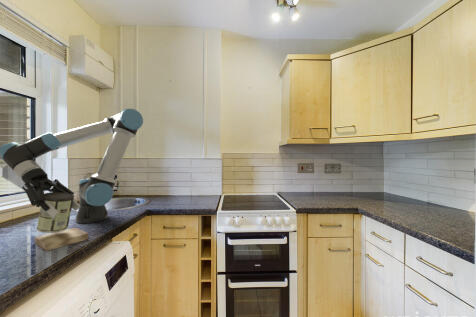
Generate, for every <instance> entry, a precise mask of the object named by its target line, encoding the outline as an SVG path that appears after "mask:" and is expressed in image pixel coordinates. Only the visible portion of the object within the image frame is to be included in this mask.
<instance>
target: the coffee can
mask: <svg viewBox="0 0 476 317" xmlns="http://www.w3.org/2000/svg"><path fill="white" fill-rule="evenodd" d="M44 198H45V202H46V201H48V202H49V203H50V204H51V205H52V206H53V207H54V208H55V209H56V210H57V211H58V212H59V213H58V214H57V215H56V216H55V217H54V218H52V217H51V216H50V215H49V214H48V213H47V211H44V210H43V208H42V207H41V206H40V207H39V209H40V210H39V214H38V221H37V224H36V232H37V231H38V232H40V233H45V234H51V233H56V232H61V231H64V230H68V228H69V222H70V218H71V211H72V209H73V208H72V203H73V198H74V199H75V195H74V194H70V193H64V192H46V193H44Z"/></svg>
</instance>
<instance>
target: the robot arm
mask: <svg viewBox="0 0 476 317" xmlns="http://www.w3.org/2000/svg"><path fill="white" fill-rule="evenodd" d="M143 124H144V118H143V115H142V113H141V112H139V111H138V110H136V109H134V108H124V109H123V110H122V111H120V112H117V113H116V114H114V115H112V116H108V117H105V118H104V120H102V121H99V122H95V123H91V124H86V125H83V126H80V127H76V128H71V129H69V130H68V129H67V130H65V131H61V132H57V133H52V132H51V131H50V132H46V133H44V134H41V135H39V136H37V137H34V138H32V139H30V140H29V141H26V142H24V143H18V142H15V141H14V142H10V143H8V142H7V143H5V144H2V145H1V146H0V158H1V160H2V161H3V162H4V163H5V164H6V165H7V166H8V167H9V168H10V169H11V170H12V171H13V172H14V173H15V174H16V175H17V176H18V177H19V178H20V180H21V181H23V183H24V185H22V187H21V189H22V190H24V191H25V194H26V195H27V198H28V200H29V203H30V204H31V206H33V207H34V206H35V207H36V208H41V207H42V208H43V210H44V211H47V213H48V214H49V215H50V216H51V217H52V218H54V217H55V216H56V215H57V214H58V213H59V212H58V211H57V210H56V209H55V208H54V207H53V206H52V205H51V204H50V203H49V202H48V201H46V202H45V198H44V194H45V193H44V192H46V191H47V192H48V193H50V192H64V193H70V194H73V195H74V194H75V192H74V191H73V190H71V189H70V188H68V187H66V186H65V185H64V184H63V183H61V182H60V181H59V180H58V179H54V180H51V179H50V178H49V177H48V173H47V172H46V171H45V170H44V169H43V168H42V167H41V166H40V165H39V164H38V162H36V160H35V159H37V158H39V157H41V156H44V155H45V154H47V153H50V152H53V151H56V150H59V149H62V148H65V147H69V146H73V145H75V144H79V143H82V142H85V141H89V140H92V139H96V138H98V137H102V136H106V135H109V134H111V135H112V137H111V138H110V142H109V143H108V146H107V148H106V149H105V152H104V154H103V157H102V159H101V161H100V163H99V166H98V168H97V170H96V172H95V173H94V174H92V175H90V177H89V178H83V179H80V180H79V181H78V182H79V184H78V187H79V188H78V190H79V197H78V198H79V203H78V202H77V200H76V199H75V197H74V198H73V203H72V208H71V209H73V211H75V212H76V211H77V210H78V211H77V212H76V216H75V223H77V224H92V223H98V222H102V221H104V220H105V221H106V220H107V219H109V212H108V210H107V207H106V204H108V203H110V201H111V200H112V198H113V196H114V191H113V190H114V187H115V186H116V180H115V176H117V175H116V174H117V172H118V170H119V168H120V165H121V163H122V160H123V158H124V157H125V156H124V155H125V154H126V150H127V148H128V146H129V143H130V141H131V140H132V139H133V138H135V137H136V135H137V132H138V130H139V129H140V128H142V126H143Z"/></svg>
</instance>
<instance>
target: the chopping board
mask: <svg viewBox="0 0 476 317" xmlns="http://www.w3.org/2000/svg"><path fill="white" fill-rule="evenodd" d="M86 239H87V240H89V233H88V232H87V231H83V230H81V229H80V228H77V227H73V228H69V229H68V228H67V229H66V230H64V231H61V232H56V233H46V234H42V235H38V236H36V237H35V239H34V244H35V245H37V246H38V247H40V248H41V249H42V250H43V251H45V252H47V251H48V252H49V251H51V250H55V249H58V248H62V247H65V246H69V245H73V244H75V243H80V242H83V241H87V240H86Z"/></svg>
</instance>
